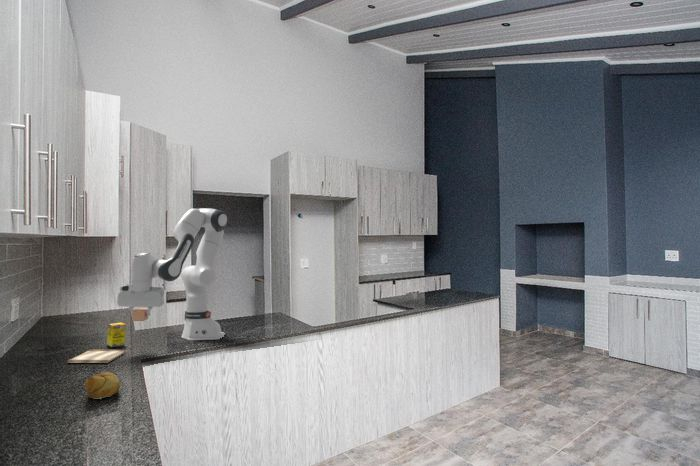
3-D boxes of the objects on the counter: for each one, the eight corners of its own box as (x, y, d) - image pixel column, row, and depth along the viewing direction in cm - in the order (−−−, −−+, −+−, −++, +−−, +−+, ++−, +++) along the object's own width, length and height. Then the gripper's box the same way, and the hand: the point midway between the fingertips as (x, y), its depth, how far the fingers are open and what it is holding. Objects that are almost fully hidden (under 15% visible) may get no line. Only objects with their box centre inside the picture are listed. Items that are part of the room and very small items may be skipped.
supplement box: (111, 348, 188) (112, 325, 188) (106, 346, 191) (107, 323, 192) (124, 346, 192) (126, 323, 193) (119, 344, 196) (120, 322, 196)
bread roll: (91, 389, 137) (92, 366, 137) (122, 386, 141) (123, 364, 141) (82, 403, 125) (83, 378, 126) (117, 399, 129) (118, 375, 129)
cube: (148, 318, 188) (148, 308, 189) (143, 321, 184) (143, 310, 184) (137, 318, 188) (137, 308, 188) (132, 321, 183) (132, 310, 183)
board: (125, 353, 181) (125, 349, 181) (107, 363, 165) (107, 360, 165) (89, 352, 179) (89, 349, 179) (67, 363, 163) (67, 360, 163)
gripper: (166, 286, 190) (165, 314, 190) (122, 285, 188) (121, 314, 188) (161, 287, 184) (160, 317, 184) (116, 287, 182) (114, 317, 182)
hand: (140, 315), depth 186 cm, fingers closed on cube, 5 cm apart
